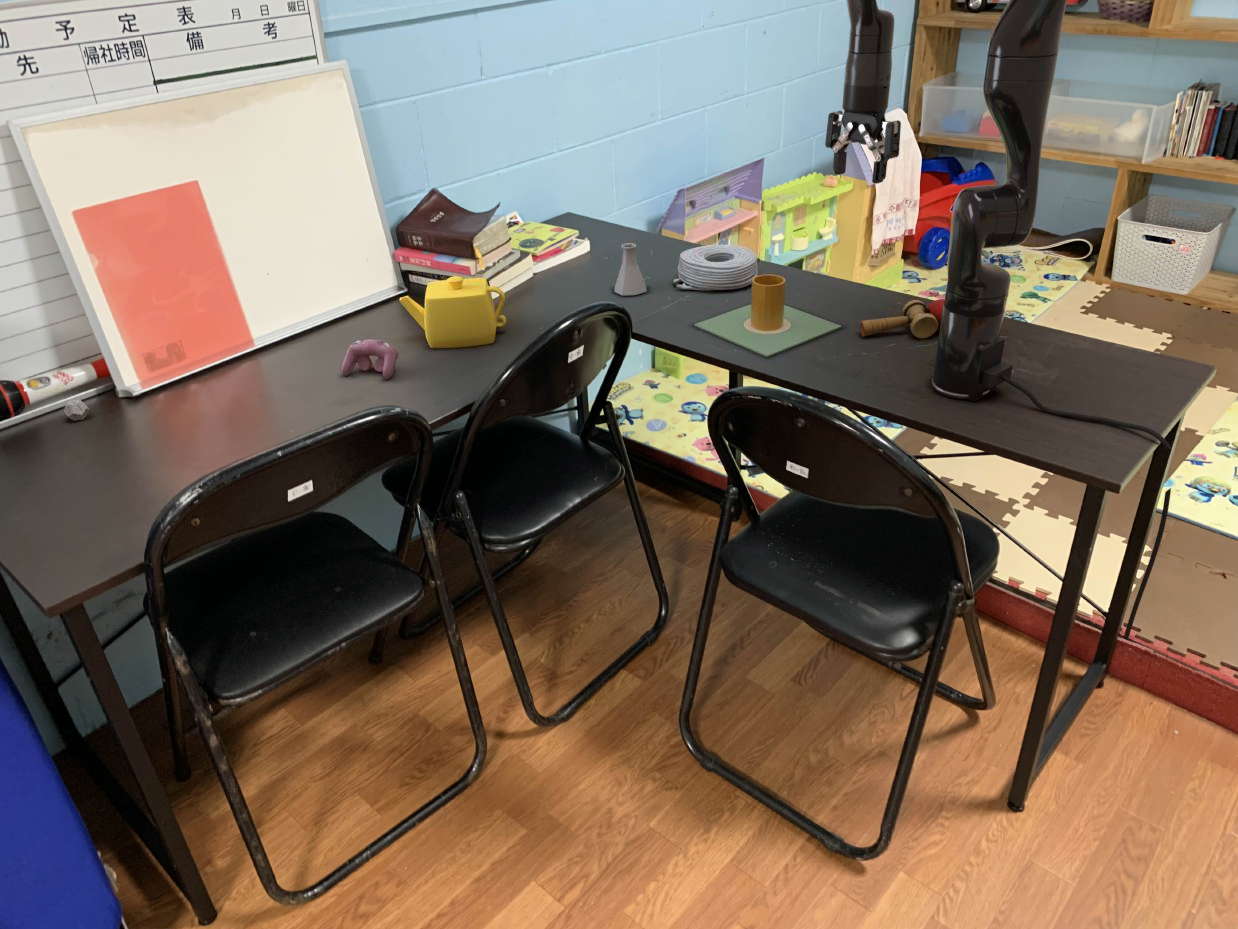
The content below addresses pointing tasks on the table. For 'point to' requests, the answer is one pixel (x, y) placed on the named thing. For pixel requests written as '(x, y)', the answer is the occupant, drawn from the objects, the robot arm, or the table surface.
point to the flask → (630, 273)
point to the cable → (716, 268)
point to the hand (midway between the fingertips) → (858, 178)
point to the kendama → (909, 319)
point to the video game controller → (361, 354)
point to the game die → (76, 410)
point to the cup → (767, 302)
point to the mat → (767, 343)
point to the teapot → (458, 312)
